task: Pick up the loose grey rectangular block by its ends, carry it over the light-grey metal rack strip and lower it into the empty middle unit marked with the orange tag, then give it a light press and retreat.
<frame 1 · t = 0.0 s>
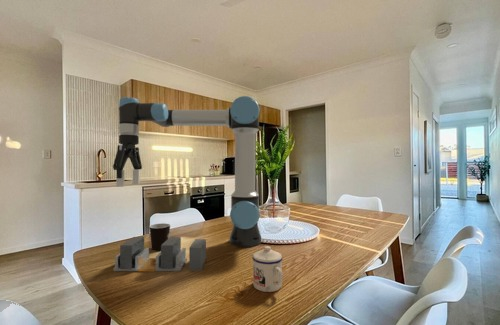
hand: (128, 185, 105), 28 cm above the table, fingers open, 13 cm apart
grey rectangular block: (198, 264, 91), on the table
teacup with lid: (270, 288, 75), on the table
coffee mug: (161, 248, 110), on the table
rack: (152, 265, 90), on the table
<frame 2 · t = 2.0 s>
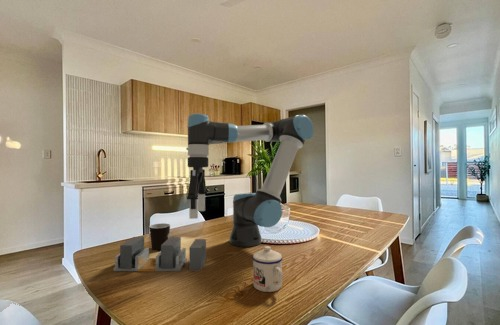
hand: (197, 214, 92), 18 cm above the table, fingers open, 13 cm apart
nothing on the table moved.
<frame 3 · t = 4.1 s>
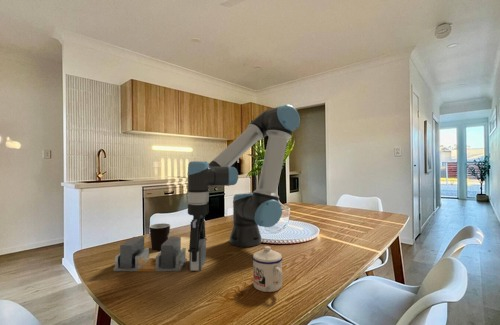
hand: (197, 263, 91), 0 cm above the table, fingers closed on grey rectangular block, 10 cm apart
grey rectangular block: (198, 264, 91), on the table, touching gripper
everything else where it was.
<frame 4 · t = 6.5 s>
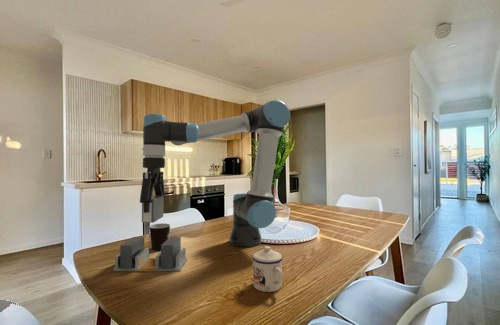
hand: (153, 218, 90), 17 cm above the table, fingers closed on grey rectangular block, 10 cm apart
grey rectangular block: (153, 219, 90), point 17 cm above the table, touching gripper
everything else where it was.
when the fingers open (3 cm above the table, at t = 9.1 s): grey rectangular block drops 1 cm, resting on rack.
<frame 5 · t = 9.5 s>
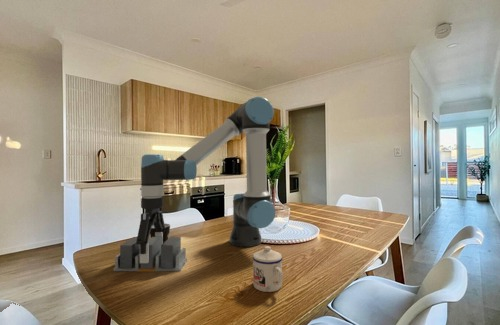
hand: (152, 255, 90), 4 cm above the table, fingers open, 13 cm apart
grey rectangular block: (152, 262, 90), point 1 cm above the table, touching rack
everything else where it was.
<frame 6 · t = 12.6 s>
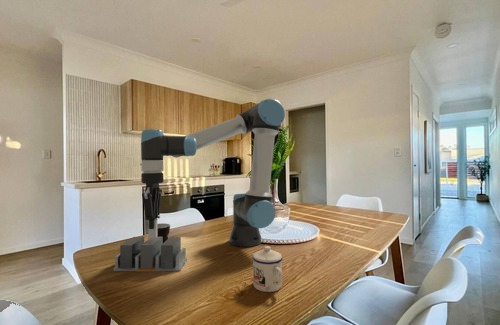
hand: (153, 237, 91), 10 cm above the table, fingers closed
nothing on the table moved.
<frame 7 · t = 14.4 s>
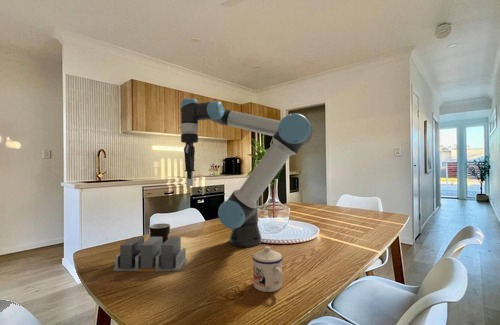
hand: (189, 185, 113), 27 cm above the table, fingers closed
nothing on the table moved.
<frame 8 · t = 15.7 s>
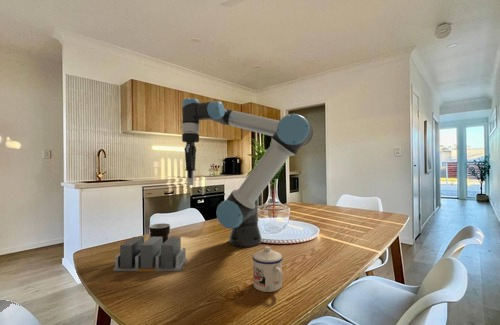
hand: (190, 185, 114), 27 cm above the table, fingers closed
nothing on the table moved.
at the end: grey rectangular block 0.0 cm off-centre on the rack, point 1.1 cm above the rack's base; grey rectangular block tilted 0°; the gripper is holding nothing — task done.
